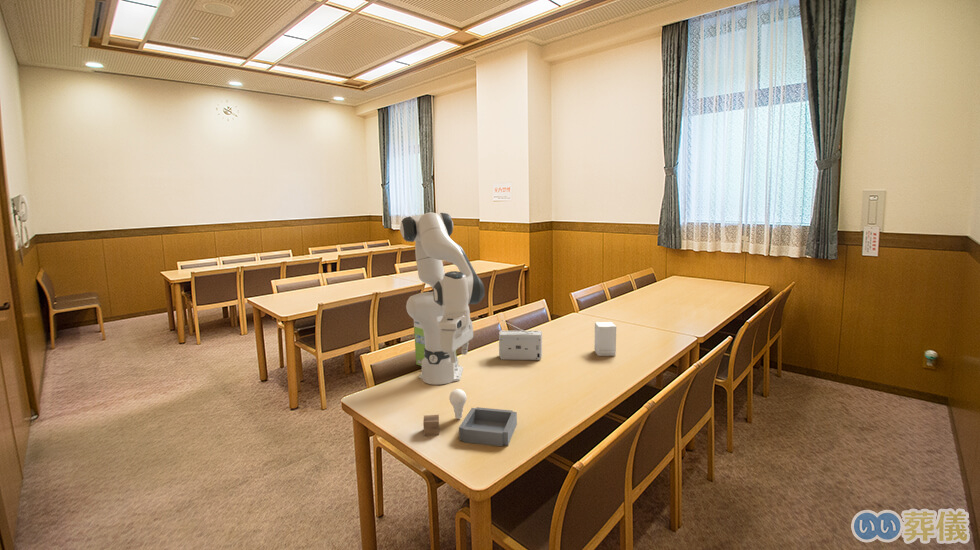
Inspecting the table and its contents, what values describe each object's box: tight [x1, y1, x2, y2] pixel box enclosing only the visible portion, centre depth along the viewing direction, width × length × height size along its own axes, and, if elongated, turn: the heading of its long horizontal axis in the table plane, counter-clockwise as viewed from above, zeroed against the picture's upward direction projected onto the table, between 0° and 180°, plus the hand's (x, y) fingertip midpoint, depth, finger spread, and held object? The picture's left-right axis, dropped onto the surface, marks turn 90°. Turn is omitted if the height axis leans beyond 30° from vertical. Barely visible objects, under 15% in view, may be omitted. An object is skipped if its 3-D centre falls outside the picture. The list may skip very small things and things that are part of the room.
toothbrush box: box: [412, 316, 458, 367], centre depth 222 cm, size 18×10×24 cm, turn 135°
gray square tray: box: [458, 406, 518, 447], centre depth 156 cm, size 16×16×4 cm
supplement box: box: [593, 321, 617, 357], centre depth 232 cm, size 9×9×15 cm
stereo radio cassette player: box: [498, 319, 543, 361], centre depth 227 cm, size 21×8×20 cm, turn 84°
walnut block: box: [422, 414, 440, 437], centre depth 157 cm, size 5×5×5 cm
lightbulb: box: [448, 388, 468, 420], centre depth 166 cm, size 6×6×11 cm
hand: (459, 358), depth 162 cm, fingers open, 8 cm apart
